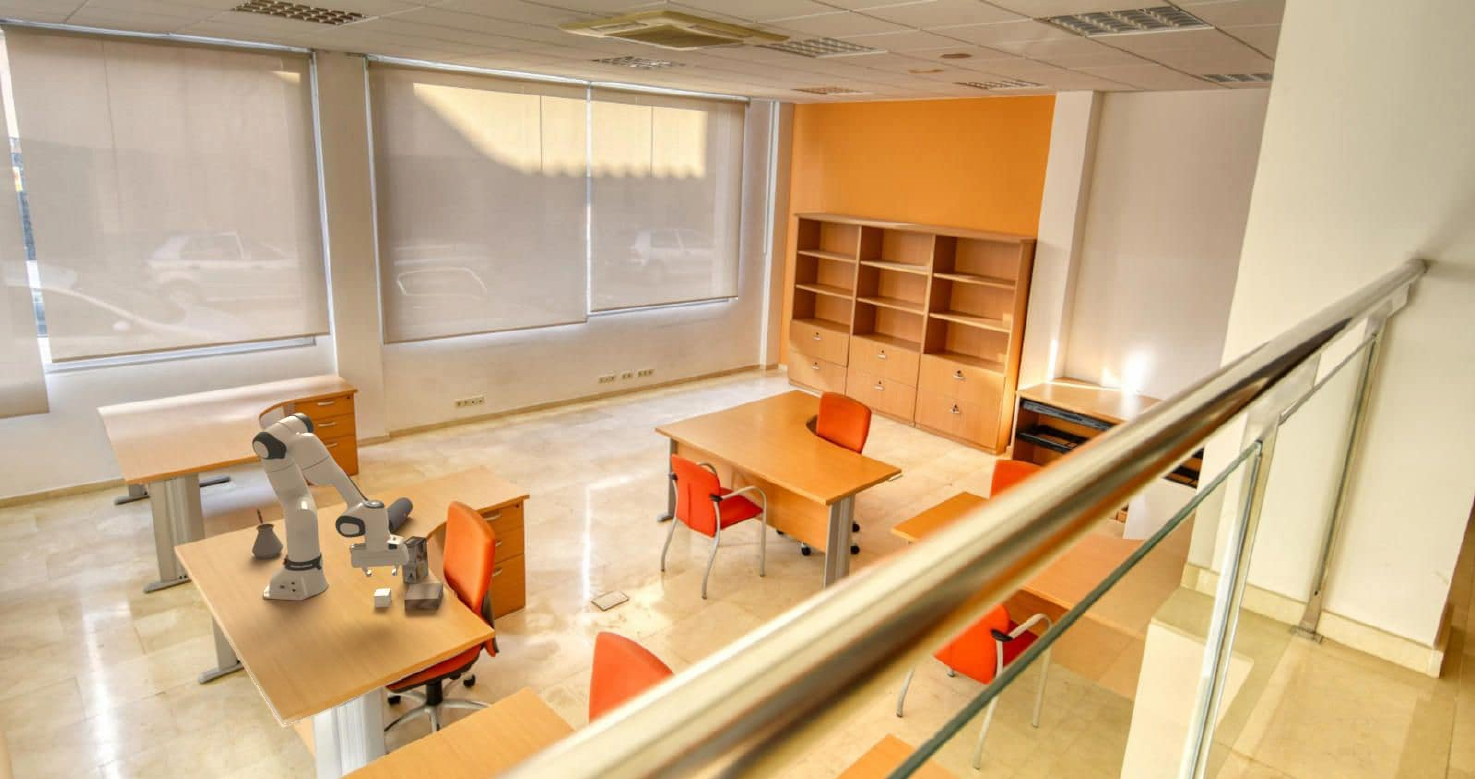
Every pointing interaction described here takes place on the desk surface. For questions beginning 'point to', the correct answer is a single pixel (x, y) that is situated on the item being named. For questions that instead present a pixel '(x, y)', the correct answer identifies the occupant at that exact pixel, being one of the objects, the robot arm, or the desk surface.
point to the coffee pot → (266, 541)
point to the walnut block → (423, 596)
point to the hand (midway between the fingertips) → (382, 575)
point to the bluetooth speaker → (398, 512)
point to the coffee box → (415, 560)
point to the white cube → (382, 597)
